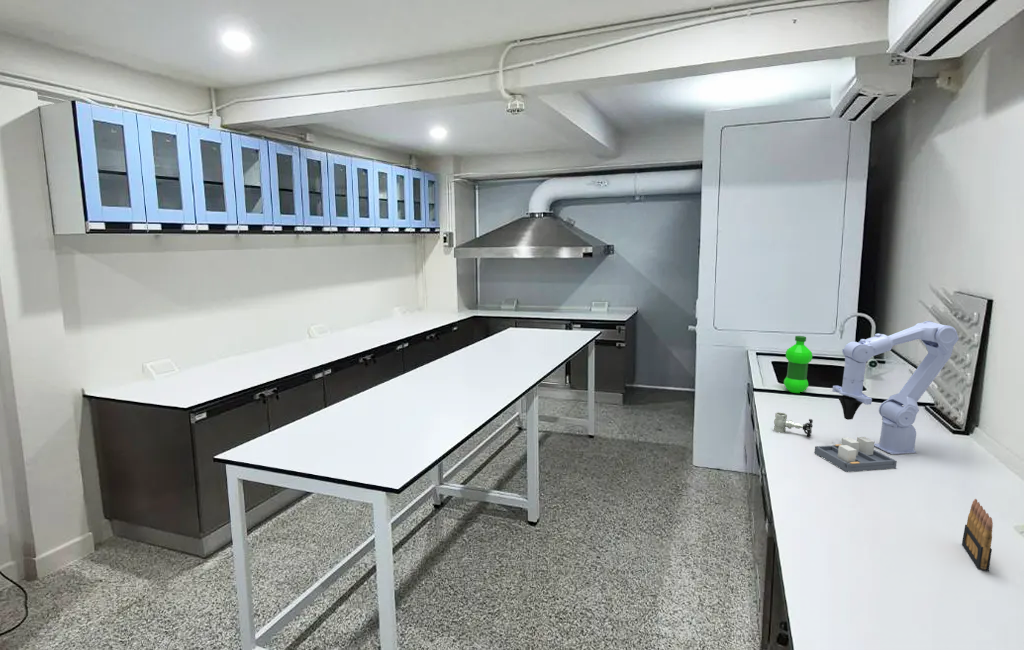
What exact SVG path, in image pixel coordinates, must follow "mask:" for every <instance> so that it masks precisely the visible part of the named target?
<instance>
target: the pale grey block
mask: <svg viewBox="0 0 1024 650" xmlns="http://www.w3.org/2000/svg"><path fill="white" fill-rule="evenodd" d="M856 441H857V442H859V451H861V452H863V453H865V454H867V455H873V451H874V450H875V446H874V444H876V443H875V440H873V439H870V438H869V437H867V436H857V437H856Z"/></svg>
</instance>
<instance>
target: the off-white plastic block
mask: <svg viewBox="0 0 1024 650" xmlns="http://www.w3.org/2000/svg"><path fill="white" fill-rule="evenodd" d="M856 452H857V450H856V449H854V448H852V447H850V446H848V445H839V448H838V458H839V459H841V460H843V461H845V462H847V463H850V462H855V460H856Z"/></svg>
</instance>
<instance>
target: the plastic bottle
mask: <svg viewBox="0 0 1024 650" xmlns="http://www.w3.org/2000/svg"><path fill="white" fill-rule="evenodd" d="M794 341H795V344H794V345H791V346H790V347H788V348H787V350H786V351H785V358H786V360H787V368H786V369H787V370H786V371H787V372H786V376H785V378H784V379H783V384H784V387H785V388H786V389H787V391H788V392H790V393H792V394H793V393H794V394H801V393H800V392H802V393H803V392H804V391H806V390H807V389H808V388H809V381H808V379H807V377H808V371H809V369H808V368H809V363H810V362H812V360H813V353H812V351H811V350H810V349H809V348H808V347H807V346H806V345H805V342H807V337H806V336H804V335H795V337H794Z"/></svg>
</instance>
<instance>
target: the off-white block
mask: <svg viewBox="0 0 1024 650" xmlns="http://www.w3.org/2000/svg"><path fill="white" fill-rule="evenodd" d="M840 444H841V445H848V446H850V447H852V448H854V449H856V450H857V452H856V456H858V450H859V442H857V440H856V439H853V438H851V437H841V443H840Z"/></svg>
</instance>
